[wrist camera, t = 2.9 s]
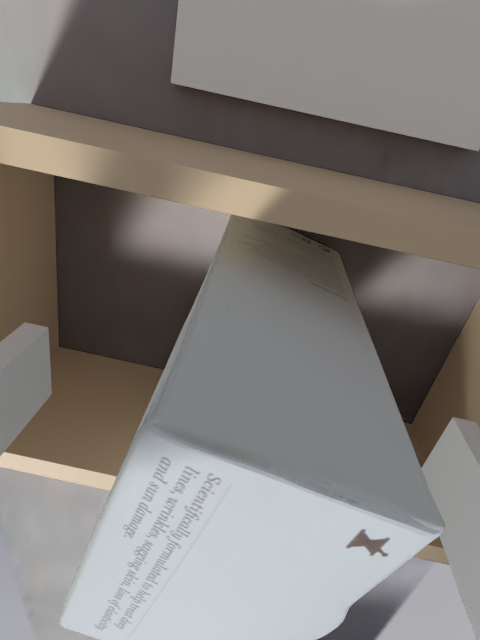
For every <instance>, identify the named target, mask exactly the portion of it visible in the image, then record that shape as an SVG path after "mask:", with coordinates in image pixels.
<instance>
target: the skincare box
mask: <svg viewBox="0 0 480 640" xmlns="http://www.w3.org/2000/svg"><path fill="white" fill-rule="evenodd" d="M445 527H446V524H445V522H444V520H443V518H442V516H441V514H440V512H439V510H438V508H437V505H436V503H435V501H434V499H433V497H432V494H431V492H430V490H429V487H428V484H427V481H426V479H425V476H424V474H423V471H422V469H421V467H420V464H419V462H418V459H417V457H416V454H415V451H414V448H413V445H412V443H411V440H410V438H409V435H408V433H407V430H406V428H405V425H404V423H403V420H402V417H401V415H400V412H399V410H398V407H397V404H396V402H395V399H394V396H393V394H392V391H391V389H390V386H389V383H388V381H387V378H386V376H385V373H384V370H383V368H382V365H381V363H380V360H379V357H378V355H377V352H376V350H375V347H374V345H373V342H372V340H371V337H370V334H369V331H368V329H367V326H366V324H365V321H364V319H363V316H362V313H361V311H360V308H359V306H358V303H357V301H356V298H355V295H354V292H353V290H352V287H351V284H350V282H349V279H348V276H347V274H346V271H345V268H344V266H343V263H342V260H341V258H340V255H339V253H338V252H336V251H334V250H332V249H330V248H328V247H326V246H324V245H322V244H320V243H318V242H316V241H313V240H311V239H309V238H307V237H305V236H303V235H301V234H299V233H297V232H295V231H292V230H290V229H288V228H286V227H284V226H282V225H278V224H273V223H269V222H264V221H260V220H255V219H250V218H246V217H241V216H237V215H232V214H231V216H230V219H229V222H228V225H227V227H226V230H225V232H224V235H223V237H222V239H221V242H220V244H219V247H218V249H217V251H216V254H215V256H214V258H213V261H212V263H211V265H210V268H209V270H208V272H207V275H206V277H205V279H204V281H203V284H202V286H201V288H200V291H199V293H198V295H197V297H196V300H195V302H194V304H193V306H192V309H191V311H190V313H189V315H188V317H187V319H186V321H185V323H184V325H183V327H182V329H181V331H180V334H179V336H178V338H177V341H176V343H175V345H174V347H173V350H172V352H171V355H170V357H169V360H168V362H167V364H166V367H165V369H164V371H163V373H162V376H161V378H160V380H159V382H158V385H157V387H156V389H155V391H154V394H153V396H152V398H151V400H150V403H149V405H148V407H147V409H146V412H145V414H144V416H143V418H142V421H141V423H140V425H139V427H138V430H137V432H136V434H135V436H134V439H133V441H132V443H131V445H130V448H129V450H128V452H127V455H126V457H125V459H124V461H123V464H122V466H121V468H120V470H119V473H118V475H117V477H116V480H115V482H114V484H113V487H112V489H111V491H110V494H109V496H108V498H107V501H106V503H105V505H104V508H103V510H102V513H101V515H100V517H99V520H98V522H97V525H96V527H95V529H94V532H93V534H92V537H91V539H90V542H89V544H88V547H87V549H86V551H85V554H84V556H83V559H82V561H81V564H80V566H79V569H78V571H77V573H76V576H75V578H74V581H73V583H72V586H71V588H70V591H69V593H68V596H67V599H66V601H65V604H64V607H63V610H62V613H61V617H60V621H59V624H60V625H61V626H62V627H63V628H66V629H69V630H73V631H76V632H78V633H81V634H84V635H87V636H90V637H93V638H96V639H100V640H317V639H319V638H321V637H323V636H325V635H327V634H328V633H330V632H331V631H333V630H334V629H336V628H337V627H338V626H339V625H340V624H341V623H342V622H343V621H344V619H345V617H346V614H347V612H348V610H349V608H350V606H351V605H352V604H354V603H355V602H356V601H357V600H358V599H360V598H361V597H362V596H363V595H365V594H366V593H367V592H368V591H370V590H371V589H372V588H374V587H375V586H376V585H378V584H379V583H380V582H381V581H383V580H384V579H385V578H387V577H388V576H389V575H391V574H392V573H393V572H394V571H396V570H397V569H398V568H399V567H401V566H402V565H403V564H404V563H406V562H407V561H408V560H409V559H411V558H412V557H413V556H414V555H416V554H417V553H418V552H419V551H420V550H422V549H423V548H424V547H425V546H427V545H428V544H429V543H430V542H432V541H433V540H434V539H436V538H437V537H438V536H440V535H441V534H442V532H443V531H444V530H445Z"/></svg>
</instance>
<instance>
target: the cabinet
mask: <svg viewBox="0 0 480 640" xmlns="http://www.w3.org/2000/svg"><path fill="white" fill-rule="evenodd" d="M54 175H56V176H61V177H65V178H70V179H74V180H79V181H83V182H88V183H92V184H97V185H101V186H106V187H110V188H115V189H119V190H124V191H128V192H133V193H137V194H142V195H147V196H151V197H156V198H160V199H165V200H169V201H174V202H178V203H183V204H187V205H192V206H196V207H201V208H205V209H210V210H214V211H219V212H223V213H228V214H232V215H237V216H241V217H246V218H250V219H255V220H260V221H264V222H269V223H273V224H278V225H282V226H287V227H291V228H296V229H300V230H305V231H309V232H314V233H318V234H323V235H327V236H332V237H336V238H341V239H345V240H350V241H354V242H359V243H363V244H368V245H373V246H377V247H382V248H386V249H391V250H395V251H400V252H404V253H409V254H413V255H418V256H422V257H427V258H431V259H436V260H440V261H445V262H449V263H454V264H458V265H463V266H467V267H472V268H477V269H480V203H476V202H471V201H467V200H462V199H458V198H453V197H449V196H444V195H440V194H435V193H431V192H426V191H422V190H417V189H413V188H408V187H404V186H399V185H395V184H390V183H386V182H381V181H377V180H372V179H368V178H363V177H359V176H354V175H350V174H345V173H341V172H336V171H332V170H327V169H323V168H318V167H314V166H309V165H305V164H300V163H296V162H291V161H287V160H282V159H278V158H273V157H269V156H264V155H260V154H255V153H250V152H246V151H241V150H237V149H232V148H228V147H223V146H219V145H214V144H210V143H205V142H201V141H196V140H192V139H187V138H183V137H178V136H174V135H169V134H165V133H160V132H156V131H151V130H147V129H142V128H138V127H133V126H129V125H124V124H120V123H115V122H111V121H106V120H102V119H97V118H93V117H88V116H84V115H79V114H75V113H70V112H66V111H61V110H57V109H52V108H48V107H43V106H39V105H34V104H27V103H7V102H0V342H1V341H2V340H3V339H5V338H6V337H7V336H8V335H10V334H11V333H12V332H13V331H15V330H16V329H17V328H18V327H19V326H21V325H22V324H23V323H24V322H26V323H31V324H35V325H40V326H44V327H48V329H49V348H50V367H51V386H52V395H51V396H50V397H49V398H48V399H47V401H46V402H45V403H44V404H43V405H42V407H41V408H40V409H39V410H38V412H37V413H36V414H35V415H34V416H33V418H32V419H31V420H30V421H29V422H28V424H27V425H26V426H25V427H24V428H23V430H22V431H21V432H20V433H19V435H18V436H17V437H16V438H15V439H14V441H13V442H12V443H11V444H10V445H9V447H8V448H7V449H6V450H5V452H4V453H3V454H2V455H1V456H0V467H4V468H9V469H13V470H18V471H22V472H27V473H32V474H36V475H41V476H45V477H50V478H54V479H59V480H64V481H68V482H73V483H77V484H82V485H86V486H91V487H96V488H100V489H105V490H109V491H111V489H112V487H113V484H114V482H115V480H116V477H117V475H118V473H119V470H120V468H121V466H122V464H123V461H124V459H125V457H126V455H127V452H128V450H129V448H130V445H131V443H132V441H133V439H134V436H135V434H136V432H137V430H138V427H139V425H140V423H141V421H142V418H143V416H144V414H145V412H146V409H147V407H148V405H149V403H150V400H151V398H152V396H153V394H154V391H155V389H156V387H157V385H158V382H159V380H160V378H161V376H162V373H163V371H164V370H163V369H159V368H154V367H150V366H145V365H140V364H136V363H131V362H127V361H122V360H118V359H113V358H109V357H104V356H100V355H95V354H90V353H86V352H81V351H77V350H72V349H68V348H63V347H59V332H58V299H57V265H56V232H55V198H54ZM452 417H455V418H459V419H464V420H468V421H473V422H476V423H477V424H478V426H479V428H480V297H479V299H478V301H477V303H476V305H475V307H474V308H473V310H472V312H471V314H470V316H469V318H468V320H467V321H466V323H465V325H464V327H463V329H462V331H461V333H460V334H459V336H458V338H457V340H456V342H455V344H454V346H453V347H452V349H451V351H450V353H449V355H448V357H447V359H446V361H445V362H444V364H443V366H442V368H441V370H440V372H439V374H438V375H437V377H436V379H435V381H434V383H433V385H432V387H431V388H430V390H429V392H428V394H427V396H426V398H425V400H424V402H423V403H422V405H421V407H420V409H419V411H418V413H417V415H416V416H415V418H414V420H413V422H412V424H409V423H404V422H403V423H404V425H405V428H406V430H407V433H408V435H409V438H410V440H411V443H412V445H413V448H414V451H415V454H416V457H417V459H418V462H419V464H420V467H421V468H422V466H423V465H424V463H425V462H426V460H427V458H428V457H429V455H430V453H431V452H432V450H433V448H434V447H435V445H436V444H437V442H438V440H439V439H440V437H441V435H442V434H443V432H444V430H445V429H446V427H447V426H448V424H449V422H450V421H451V419H452ZM413 557H415V558H420V559H424V560H429V561H433V562H438V563H443V564H447V565H449V562H448V559H447V556H446V554H445V551H444V548H443V545H442V542H441V540H440V537H439V536H438V537H437V538H436V539H434V540H433V541H432V542H430V543H429V544H428V545H427V546H425V547H424V548H423V549H422V550H420V551H419V552H418V553H417V554H416V555H414V556H413Z"/></svg>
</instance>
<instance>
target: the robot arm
mask: <svg viewBox="0 0 480 640" xmlns="http://www.w3.org/2000/svg"><path fill="white" fill-rule="evenodd" d="M51 395H52V386H51V367H50V348H49V329H48V327H44V326H40V325H35V324H31V323H26V322H24V323H23V324H22V325H21V326H19V327H18V328H17V329H16V330H15V331H13V332H12V333H11V334H10V335H8V336H7V337H6V338H5V339H3V340H2V341H1V342H0V456H1V455H2V454H3V453H4V452H5V450H6V449H7V448H8V447H9V445H10V444H11V443H12V442H13V441H14V439H15V438H16V437H17V436H18V435H19V433H20V432H21V431H22V430H23V428H24V427H25V426H26V425H27V424H28V422H29V421H30V420H31V419H32V418H33V416H34V415H35V414H36V413H37V412H38V410H39V409H40V408H41V407H42V405H43V404H44V403H45V402H46V401H47V399H48V398H49V397H50V396H51ZM421 469H422V471H423V474H424V476H425V479H426V481H427V484H428V487H429V490H430V492H431V494H432V497H433V499H434V501H435V503H436V505H437V508H438V510H439V512H440V514H441V516H442V518H443V520H444V522H445V524H446V527H445V530H444V531H443V532H442V534H441V535H440V536H439V537H440V540H441V542H442V545H443V548H444V551H445V554H446V556H447V559H448V562H449V565H450V568H451V570H452V573H453V576H454V579H455V581H456V584H457V587H458V590H459V593H460V595H461V598H462V601H463V604H464V606H465V609H466V612H467V615H468V618H469V620H470V623H471V626H472V629H473V631H474V634H475V637H476V640H480V428H479V426H478V424H477V423H476V422H473V421H468V420H464V419H459V418H455V417H452V419H451V421H450V422H449V424H448V426H447V427H446V429H445V430H444V432H443V434H442V435H441V437H440V439H439V440H438V442H437V444H436V445H435V447H434V448H433V450H432V452H431V453H430V455H429V457H428V458H427V460H426V462H425V463H424V465H423V466H422V468H421Z"/></svg>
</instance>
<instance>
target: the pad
mask: <svg viewBox="0 0 480 640" xmlns="http://www.w3.org/2000/svg"><path fill="white" fill-rule="evenodd" d="M171 83H173V84H176V85H181V86H185V87H190V88H194V89H199V90H203V91H208V92H212V93H217V94H221V95H226V96H230V97H235V98H239V99H244V100H248V101H253V102H257V103H262V104H266V105H271V106H275V107H280V108H284V109H289V110H293V111H298V112H302V113H307V114H311V115H316V116H320V117H325V118H329V119H334V120H338V121H343V122H347V123H352V124H356V125H361V126H365V127H370V128H374V129H379V130H383V131H388V132H392V133H397V134H401V135H406V136H410V137H415V138H419V139H424V140H428V141H433V142H437V143H442V144H446V145H451V146H455V147H460V148H464V149H469V150H474V151H479V148H480V0H178V10H177V21H176V31H175V42H174V52H173V63H172V73H171Z"/></svg>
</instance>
